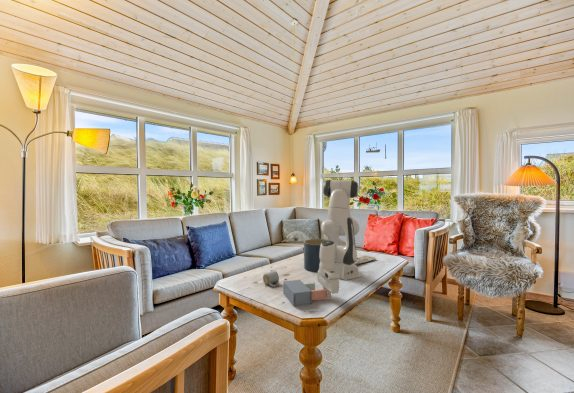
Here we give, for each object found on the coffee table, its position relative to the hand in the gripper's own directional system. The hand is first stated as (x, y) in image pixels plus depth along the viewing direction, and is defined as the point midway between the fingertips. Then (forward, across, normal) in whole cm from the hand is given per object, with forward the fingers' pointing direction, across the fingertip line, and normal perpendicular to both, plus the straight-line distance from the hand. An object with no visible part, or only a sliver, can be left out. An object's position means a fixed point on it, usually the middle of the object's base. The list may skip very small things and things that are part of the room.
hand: (327, 295), depth 152 cm
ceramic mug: (+2, -30, -24) cm, 38 cm away
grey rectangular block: (+2, -5, -16) cm, 17 cm away
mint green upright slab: (+1, -11, -10) cm, 15 cm away
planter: (+2, -52, +18) cm, 55 cm away
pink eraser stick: (+1, 0, -5) cm, 5 cm away
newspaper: (+2, -57, +56) cm, 80 cm away
